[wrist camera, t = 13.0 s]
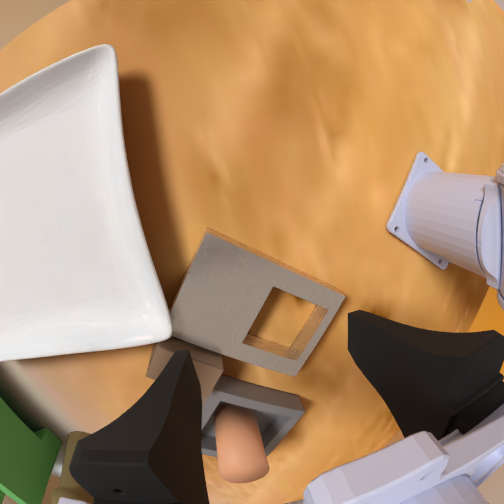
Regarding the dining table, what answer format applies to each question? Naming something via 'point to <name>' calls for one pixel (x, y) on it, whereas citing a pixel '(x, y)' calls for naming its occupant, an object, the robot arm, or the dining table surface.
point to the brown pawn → (68, 483)
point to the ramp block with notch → (24, 458)
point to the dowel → (239, 444)
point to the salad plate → (72, 218)
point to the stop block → (203, 360)
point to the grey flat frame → (246, 303)
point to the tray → (254, 397)
